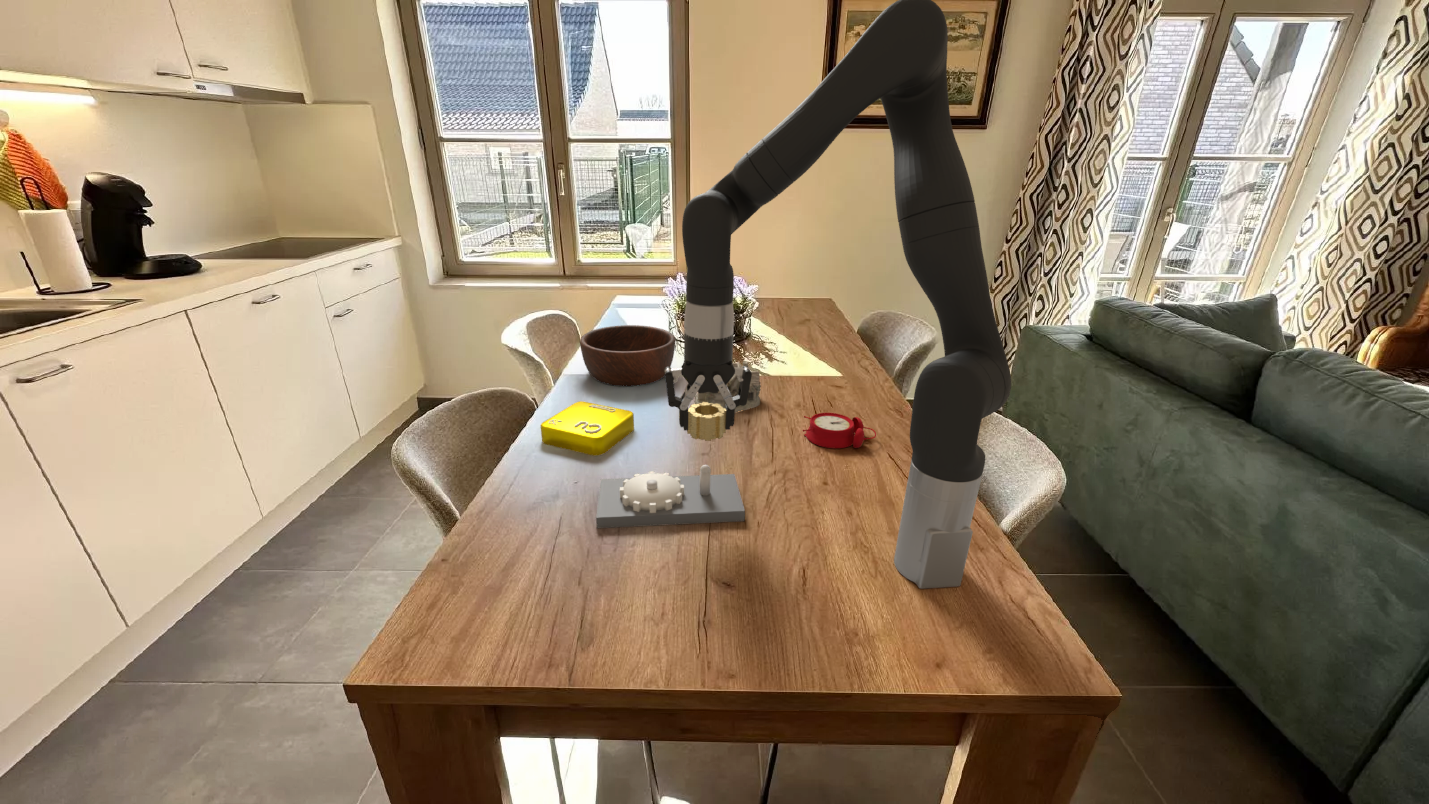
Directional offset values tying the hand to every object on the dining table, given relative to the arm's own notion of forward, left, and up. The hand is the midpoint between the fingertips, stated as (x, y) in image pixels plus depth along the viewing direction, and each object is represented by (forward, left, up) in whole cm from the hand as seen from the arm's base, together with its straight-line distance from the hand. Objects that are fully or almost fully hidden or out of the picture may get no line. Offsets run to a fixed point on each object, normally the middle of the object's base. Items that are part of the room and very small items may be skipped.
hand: (706, 427), depth 97 cm
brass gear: (0, 0, -1) cm, 1 cm away
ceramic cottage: (+43, -10, -15) cm, 46 cm away
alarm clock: (+22, -31, -15) cm, 41 cm away
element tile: (+28, +22, -15) cm, 39 cm away
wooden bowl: (+65, +14, -15) cm, 68 cm away
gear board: (0, +6, -14) cm, 16 cm away
